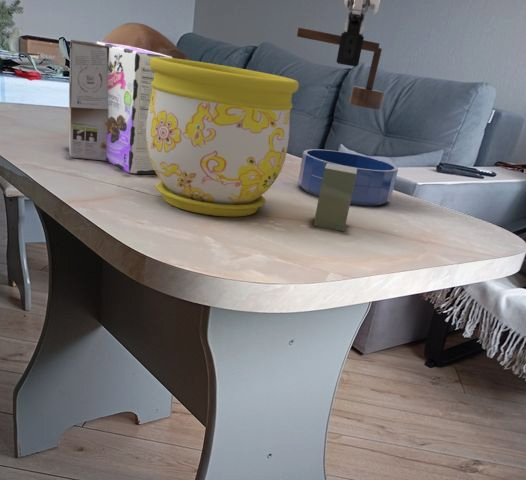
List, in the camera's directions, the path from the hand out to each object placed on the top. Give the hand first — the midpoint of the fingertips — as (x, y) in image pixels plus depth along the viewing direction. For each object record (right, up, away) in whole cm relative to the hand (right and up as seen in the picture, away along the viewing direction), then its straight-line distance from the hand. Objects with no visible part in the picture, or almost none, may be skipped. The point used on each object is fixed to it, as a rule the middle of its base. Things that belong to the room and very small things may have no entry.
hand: (347, 64), depth 91 cm
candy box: (-34, -13, +5) cm, 37 cm away
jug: (-32, -4, +25) cm, 41 cm away
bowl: (+1, -17, +10) cm, 19 cm away
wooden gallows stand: (-2, -4, +2) cm, 5 cm away
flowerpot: (-19, -23, -10) cm, 32 cm away
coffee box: (-40, -11, +7) cm, 42 cm away
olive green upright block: (-4, -26, -10) cm, 28 cm away
